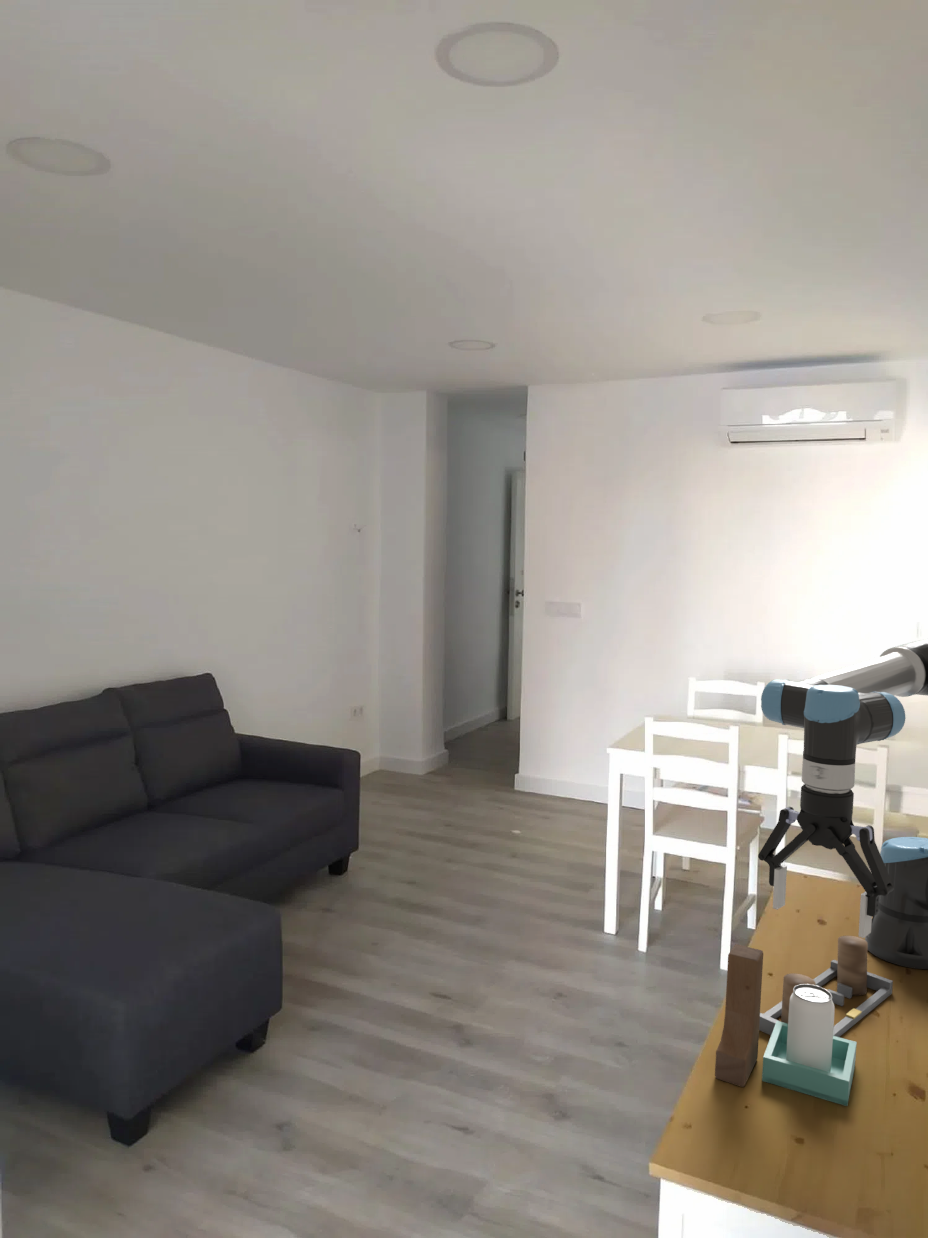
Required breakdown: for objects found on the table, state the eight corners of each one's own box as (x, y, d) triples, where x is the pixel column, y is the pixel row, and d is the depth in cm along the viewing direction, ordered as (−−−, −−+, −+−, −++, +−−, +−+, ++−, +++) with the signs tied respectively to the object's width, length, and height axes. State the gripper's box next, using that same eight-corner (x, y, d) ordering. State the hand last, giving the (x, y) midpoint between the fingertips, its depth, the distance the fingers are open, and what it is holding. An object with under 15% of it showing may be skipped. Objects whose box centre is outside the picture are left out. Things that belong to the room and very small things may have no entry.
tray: (775, 1043, 146) (776, 1020, 146) (855, 1065, 140) (856, 1042, 140) (761, 1081, 135) (763, 1057, 135) (847, 1106, 130) (849, 1081, 129)
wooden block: (744, 1089, 133) (750, 973, 132) (714, 1079, 136) (719, 965, 134) (757, 1059, 141) (764, 950, 139) (729, 1051, 143) (734, 942, 142)
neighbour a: (856, 982, 167) (857, 935, 167) (872, 994, 162) (873, 946, 162) (831, 984, 167) (832, 936, 166) (846, 996, 162) (847, 948, 161)
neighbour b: (796, 1022, 153) (799, 971, 152) (819, 1037, 148) (822, 985, 147) (774, 1027, 151) (777, 976, 150) (795, 1043, 146) (799, 990, 145)
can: (833, 1083, 134) (838, 1006, 133) (788, 1076, 135) (793, 1000, 134) (826, 1059, 140) (831, 985, 139) (783, 1052, 142) (787, 980, 141)
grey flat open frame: (832, 971, 171) (833, 959, 171) (892, 993, 163) (893, 981, 163) (753, 1027, 150) (753, 1014, 150) (817, 1056, 142) (818, 1042, 142)
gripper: (740, 774, 143) (734, 902, 145) (903, 810, 125) (894, 955, 127) (763, 766, 148) (757, 890, 150) (922, 800, 130) (913, 939, 132)
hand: (820, 920), depth 139 cm, fingers open, 13 cm apart
